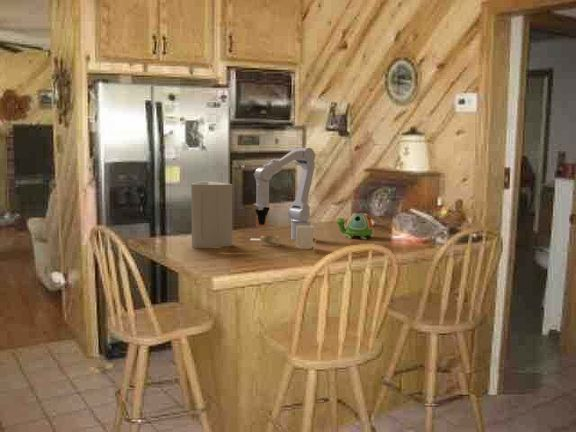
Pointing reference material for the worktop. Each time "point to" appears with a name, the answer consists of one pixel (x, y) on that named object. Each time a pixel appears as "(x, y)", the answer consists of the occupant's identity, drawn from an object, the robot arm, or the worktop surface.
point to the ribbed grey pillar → (211, 214)
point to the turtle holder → (357, 226)
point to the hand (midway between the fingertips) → (262, 223)
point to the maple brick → (269, 240)
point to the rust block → (261, 225)
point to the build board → (259, 240)
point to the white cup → (304, 236)
